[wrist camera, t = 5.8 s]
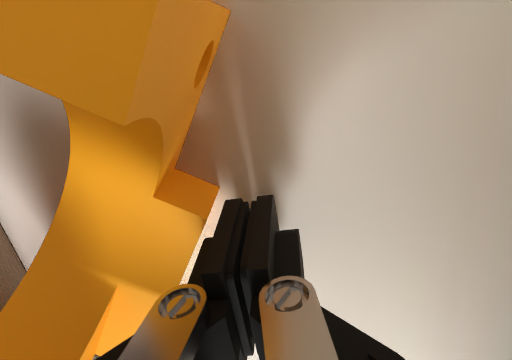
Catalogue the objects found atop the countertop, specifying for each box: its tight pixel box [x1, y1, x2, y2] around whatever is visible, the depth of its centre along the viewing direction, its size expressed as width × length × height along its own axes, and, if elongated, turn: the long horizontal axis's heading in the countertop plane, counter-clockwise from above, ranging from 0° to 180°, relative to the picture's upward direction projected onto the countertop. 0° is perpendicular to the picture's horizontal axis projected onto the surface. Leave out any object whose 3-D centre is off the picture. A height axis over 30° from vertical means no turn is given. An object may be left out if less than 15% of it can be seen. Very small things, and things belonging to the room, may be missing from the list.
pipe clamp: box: [0, 0, 231, 360], centre depth 10 cm, size 12×4×6 cm, turn 157°
